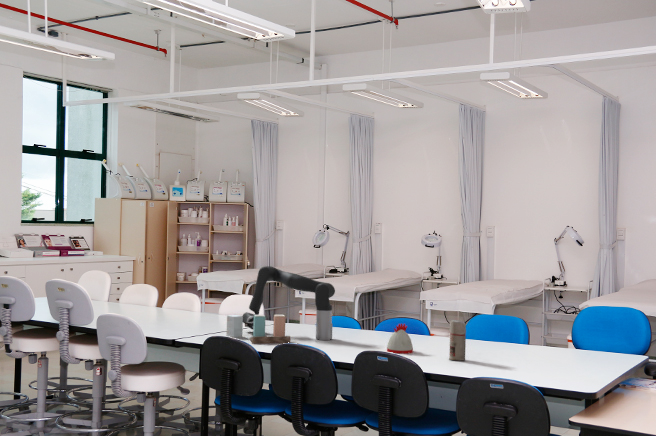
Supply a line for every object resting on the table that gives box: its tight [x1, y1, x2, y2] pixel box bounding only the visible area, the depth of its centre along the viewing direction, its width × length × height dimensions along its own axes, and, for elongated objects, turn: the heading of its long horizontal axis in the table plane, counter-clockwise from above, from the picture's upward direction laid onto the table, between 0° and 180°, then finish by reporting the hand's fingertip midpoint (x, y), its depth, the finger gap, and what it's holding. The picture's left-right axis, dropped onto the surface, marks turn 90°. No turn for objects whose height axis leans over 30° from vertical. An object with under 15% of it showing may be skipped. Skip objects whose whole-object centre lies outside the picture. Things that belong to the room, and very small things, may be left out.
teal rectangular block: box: [252, 314, 266, 337], centre depth 372 cm, size 6×5×14 cm
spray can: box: [448, 319, 467, 361], centre depth 332 cm, size 8×8×20 cm
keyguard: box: [249, 335, 291, 345], centre depth 371 cm, size 21×15×5 cm
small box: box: [226, 314, 244, 338], centre depth 386 cm, size 8×6×13 cm
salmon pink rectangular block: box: [272, 314, 286, 336], centre depth 374 cm, size 6×5×14 cm
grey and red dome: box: [386, 323, 414, 355], centre depth 353 cm, size 14×14×15 cm
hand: (256, 326), depth 382 cm, fingers closed
